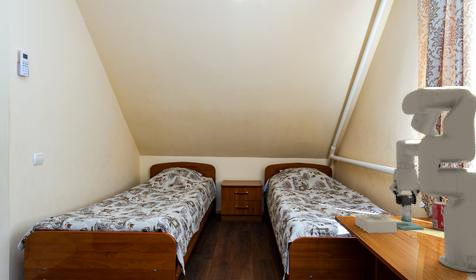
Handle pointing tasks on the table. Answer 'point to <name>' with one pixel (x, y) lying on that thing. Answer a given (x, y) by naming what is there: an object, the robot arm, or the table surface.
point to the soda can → (438, 215)
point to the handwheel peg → (406, 207)
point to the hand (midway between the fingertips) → (406, 203)
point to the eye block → (376, 223)
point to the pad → (408, 226)
